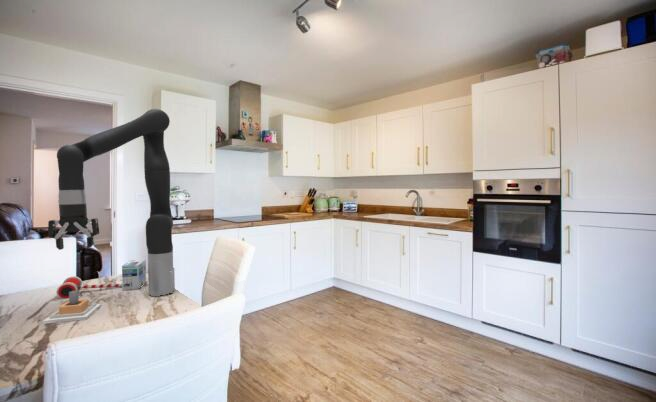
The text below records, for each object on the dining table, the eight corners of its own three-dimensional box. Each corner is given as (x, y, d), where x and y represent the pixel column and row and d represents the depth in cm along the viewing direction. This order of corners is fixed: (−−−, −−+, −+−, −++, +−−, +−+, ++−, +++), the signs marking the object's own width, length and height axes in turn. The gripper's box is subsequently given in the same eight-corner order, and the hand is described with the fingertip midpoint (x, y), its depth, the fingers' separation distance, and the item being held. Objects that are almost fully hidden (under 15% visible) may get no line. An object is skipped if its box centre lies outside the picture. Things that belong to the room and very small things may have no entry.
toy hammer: (127, 283, 144) (126, 269, 144) (125, 291, 134) (125, 276, 134) (63, 292, 133) (62, 277, 132) (56, 301, 122) (55, 284, 122)
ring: (88, 307, 112) (88, 299, 112) (80, 314, 106) (80, 305, 106) (68, 309, 111) (68, 300, 110) (59, 316, 105) (59, 307, 105)
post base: (101, 306, 116) (100, 285, 116) (86, 319, 105) (85, 295, 104) (62, 309, 113) (61, 287, 112) (43, 323, 101) (42, 299, 101)
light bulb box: (139, 289, 135) (139, 264, 135) (122, 290, 133) (121, 265, 133) (146, 282, 145) (146, 259, 145) (130, 283, 144) (129, 260, 143)
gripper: (100, 201, 116) (102, 245, 117) (53, 203, 112) (56, 247, 113) (92, 202, 109) (94, 248, 110) (42, 204, 105) (45, 252, 106)
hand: (75, 248), depth 111 cm, fingers open, 8 cm apart
